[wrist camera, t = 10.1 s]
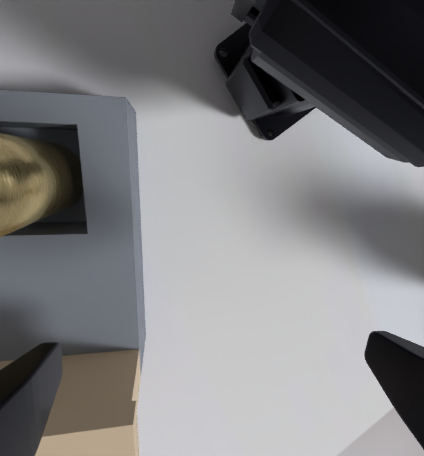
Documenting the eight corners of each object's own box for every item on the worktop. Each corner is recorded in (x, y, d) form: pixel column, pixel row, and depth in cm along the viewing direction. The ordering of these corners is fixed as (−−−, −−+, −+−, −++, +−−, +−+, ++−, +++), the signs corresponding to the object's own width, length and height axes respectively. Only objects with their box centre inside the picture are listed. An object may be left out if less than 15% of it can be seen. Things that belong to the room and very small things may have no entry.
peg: (50, 126, 15) (-76, 89, 7) (100, 183, 16) (36, 203, 8) (-5, 169, 15) (-186, 177, 7) (48, 223, 16) (-61, 278, 9)
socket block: (-60, 101, 15) (-547, -22, 5) (143, 112, 16) (107, 39, 6) (-8, 348, 19) (-211, 567, 9) (152, 335, 20) (138, 504, 10)
